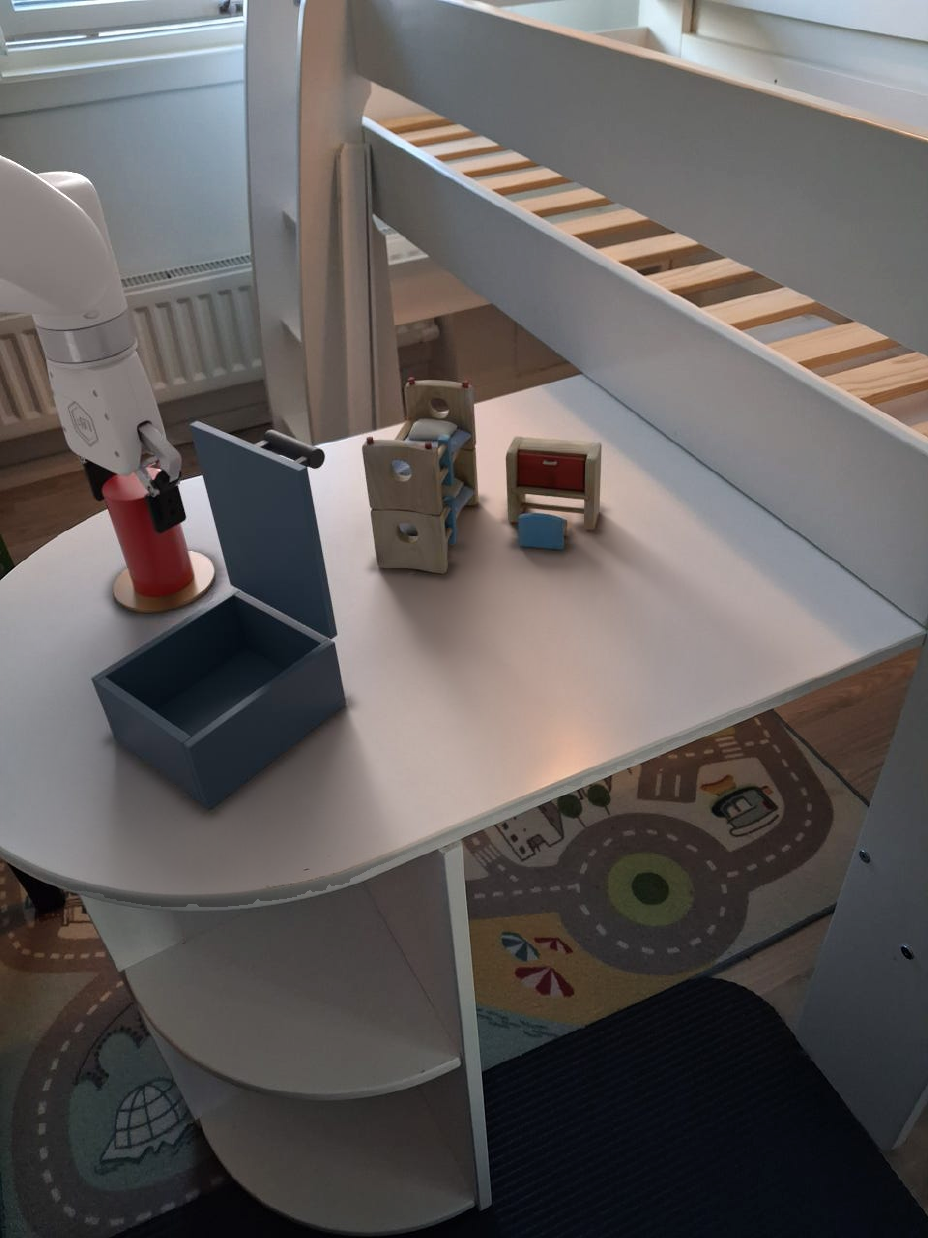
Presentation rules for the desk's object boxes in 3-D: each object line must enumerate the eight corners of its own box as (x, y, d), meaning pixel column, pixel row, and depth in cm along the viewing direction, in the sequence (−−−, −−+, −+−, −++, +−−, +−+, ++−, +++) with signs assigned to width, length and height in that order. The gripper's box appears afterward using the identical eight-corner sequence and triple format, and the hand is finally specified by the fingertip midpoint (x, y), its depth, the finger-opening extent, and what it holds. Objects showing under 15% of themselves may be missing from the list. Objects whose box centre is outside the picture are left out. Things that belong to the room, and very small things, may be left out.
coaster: (128, 625, 94) (127, 622, 94) (103, 574, 101) (102, 571, 100) (228, 589, 97) (228, 586, 97) (197, 542, 104) (196, 539, 104)
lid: (299, 471, 69) (353, 440, 72) (188, 424, 76) (243, 397, 79) (330, 640, 79) (377, 606, 82) (230, 585, 85) (277, 555, 89)
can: (142, 604, 96) (110, 507, 89) (126, 574, 100) (94, 479, 93) (202, 583, 98) (175, 487, 91) (184, 554, 102) (157, 460, 95)
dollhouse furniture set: (577, 589, 94) (579, 458, 85) (377, 567, 99) (359, 441, 90) (599, 509, 105) (603, 385, 96) (417, 493, 109) (405, 374, 101)
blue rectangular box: (209, 810, 75) (188, 748, 71) (114, 739, 82) (90, 678, 78) (346, 703, 83) (335, 642, 79) (250, 646, 90) (234, 587, 86)
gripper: (-6, 328, 85) (55, 499, 96) (108, 374, 76) (162, 558, 86) (70, 301, 90) (120, 468, 100) (187, 341, 80) (229, 521, 91)
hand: (139, 509), depth 93 cm, fingers open, 9 cm apart
